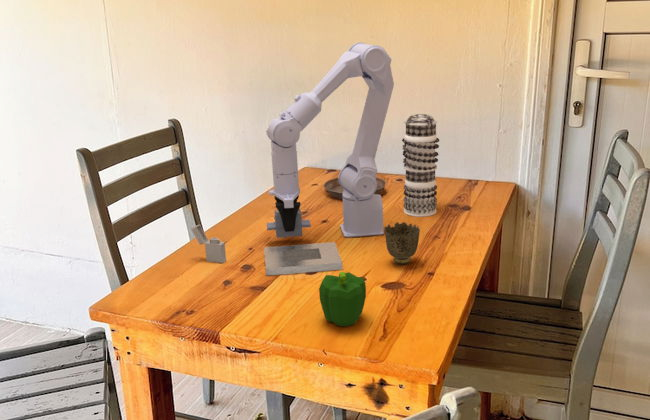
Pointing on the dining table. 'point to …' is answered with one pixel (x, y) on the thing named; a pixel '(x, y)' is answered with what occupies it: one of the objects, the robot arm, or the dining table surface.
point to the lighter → (210, 246)
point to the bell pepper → (342, 298)
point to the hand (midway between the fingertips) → (289, 227)
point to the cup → (402, 241)
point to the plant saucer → (337, 190)
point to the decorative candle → (420, 165)
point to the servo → (280, 229)
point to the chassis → (302, 258)
